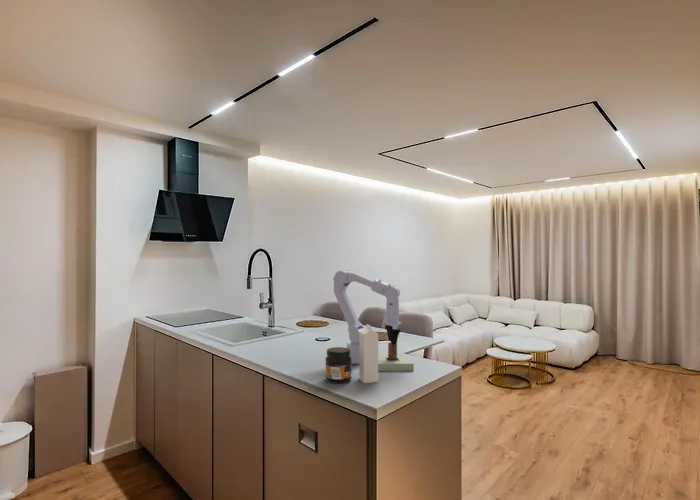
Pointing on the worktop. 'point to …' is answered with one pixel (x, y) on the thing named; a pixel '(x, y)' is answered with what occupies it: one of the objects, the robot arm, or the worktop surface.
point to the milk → (368, 355)
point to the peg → (392, 352)
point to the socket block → (395, 363)
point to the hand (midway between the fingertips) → (392, 342)
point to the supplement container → (338, 365)
